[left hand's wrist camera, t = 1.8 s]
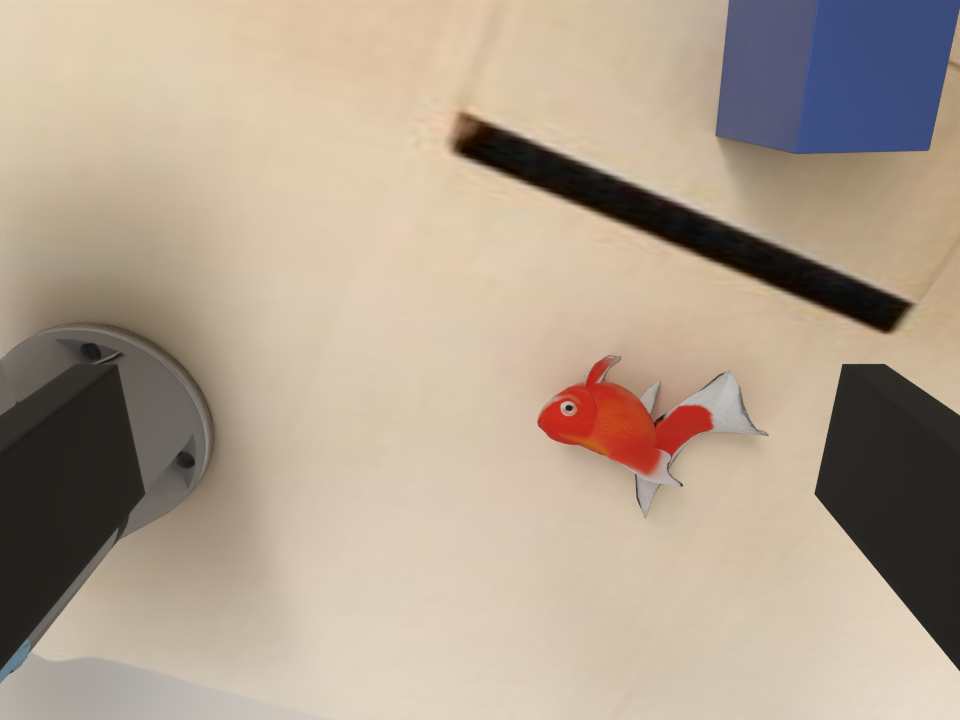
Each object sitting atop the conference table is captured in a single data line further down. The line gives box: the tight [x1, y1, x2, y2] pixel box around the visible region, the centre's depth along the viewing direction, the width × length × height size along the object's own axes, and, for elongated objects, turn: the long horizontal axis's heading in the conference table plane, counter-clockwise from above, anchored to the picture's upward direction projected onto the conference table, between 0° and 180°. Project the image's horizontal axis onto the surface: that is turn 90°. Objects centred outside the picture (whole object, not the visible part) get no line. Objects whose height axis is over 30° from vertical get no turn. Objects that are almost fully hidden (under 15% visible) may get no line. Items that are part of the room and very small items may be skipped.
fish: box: [538, 356, 768, 519], centre depth 44 cm, size 11×16×10 cm
